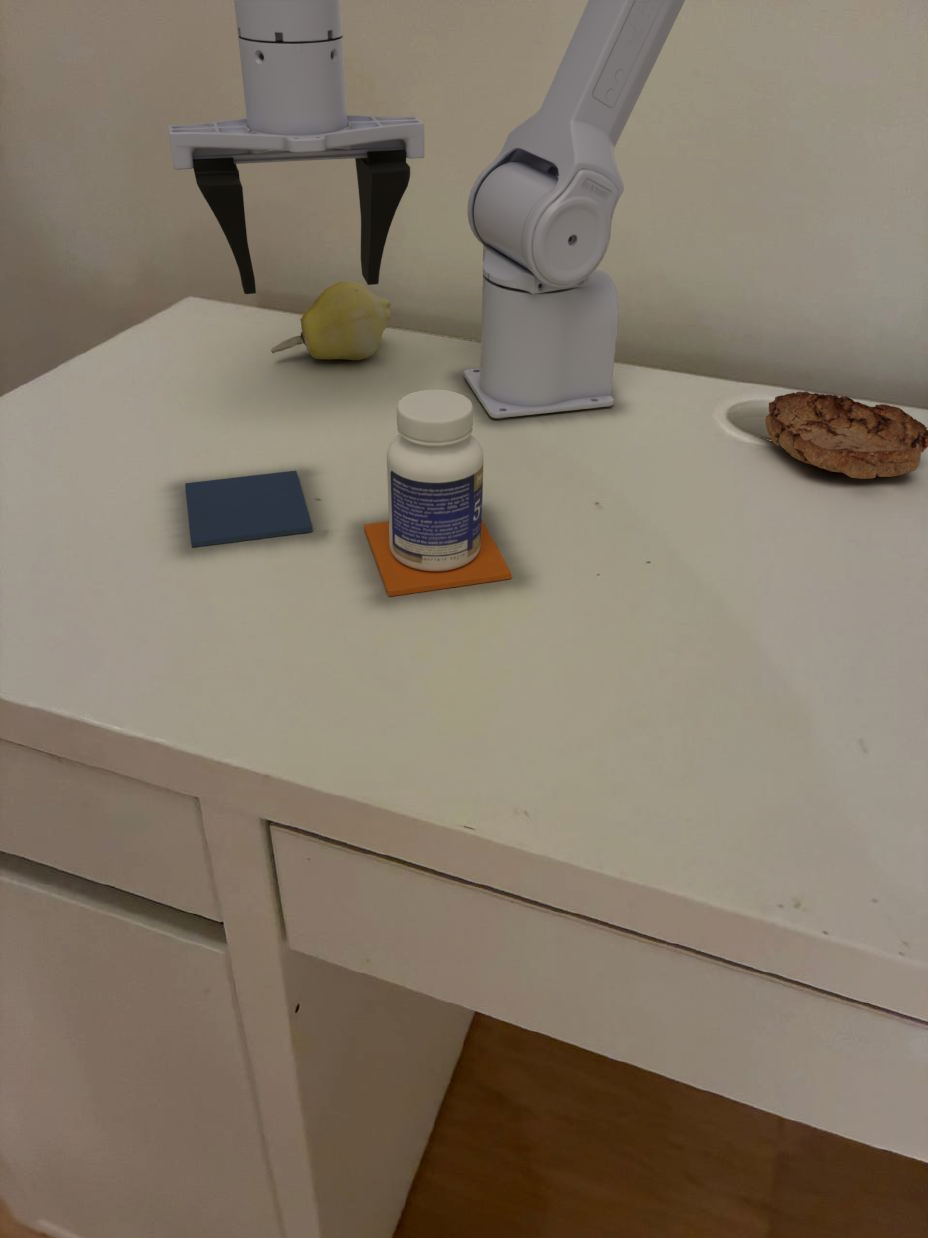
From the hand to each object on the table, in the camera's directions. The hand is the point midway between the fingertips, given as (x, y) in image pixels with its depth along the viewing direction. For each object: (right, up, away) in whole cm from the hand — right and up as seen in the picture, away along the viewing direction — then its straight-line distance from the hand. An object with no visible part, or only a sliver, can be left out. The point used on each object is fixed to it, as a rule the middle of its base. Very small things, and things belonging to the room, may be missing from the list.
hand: (310, 284), depth 63 cm
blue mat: (-4, -14, -2) cm, 15 cm away
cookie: (+35, -7, +3) cm, 36 cm away
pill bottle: (+8, -17, -6) cm, 20 cm away
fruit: (-1, 0, +17) cm, 17 cm away
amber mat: (+8, -17, -5) cm, 20 cm away
